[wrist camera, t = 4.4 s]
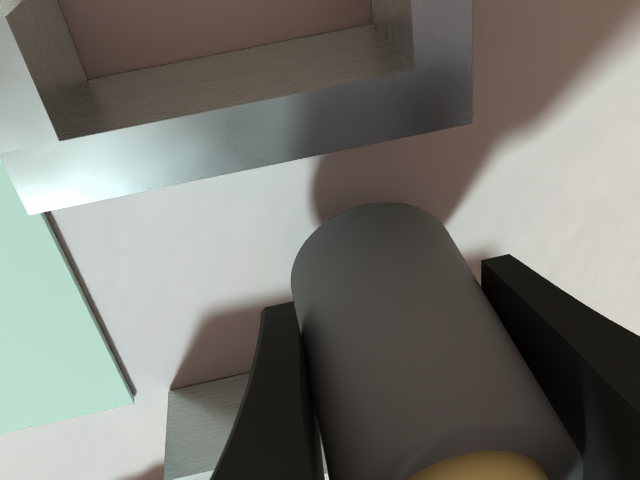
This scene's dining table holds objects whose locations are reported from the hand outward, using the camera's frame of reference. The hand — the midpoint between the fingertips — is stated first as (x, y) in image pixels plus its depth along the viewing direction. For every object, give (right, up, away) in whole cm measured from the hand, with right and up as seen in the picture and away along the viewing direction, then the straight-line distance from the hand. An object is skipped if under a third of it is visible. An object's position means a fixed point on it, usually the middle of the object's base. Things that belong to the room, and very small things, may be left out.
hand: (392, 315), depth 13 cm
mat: (-10, 0, +2) cm, 10 cm away
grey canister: (0, +1, +1) cm, 2 cm away
